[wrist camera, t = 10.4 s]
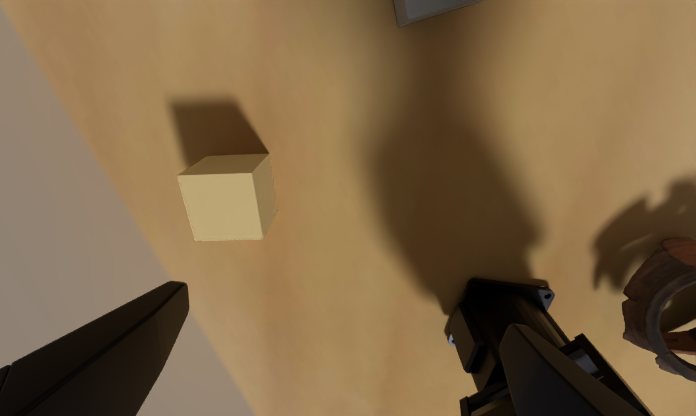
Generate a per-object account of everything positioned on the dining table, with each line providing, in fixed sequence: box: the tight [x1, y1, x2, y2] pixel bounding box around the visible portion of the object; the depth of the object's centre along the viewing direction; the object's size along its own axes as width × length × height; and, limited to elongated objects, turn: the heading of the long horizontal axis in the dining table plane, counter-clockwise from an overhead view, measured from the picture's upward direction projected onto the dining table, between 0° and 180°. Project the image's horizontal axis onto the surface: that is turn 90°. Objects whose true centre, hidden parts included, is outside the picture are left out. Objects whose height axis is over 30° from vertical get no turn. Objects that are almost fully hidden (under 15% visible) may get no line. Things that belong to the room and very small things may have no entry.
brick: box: [177, 154, 278, 241], centre depth 20 cm, size 4×4×4 cm
